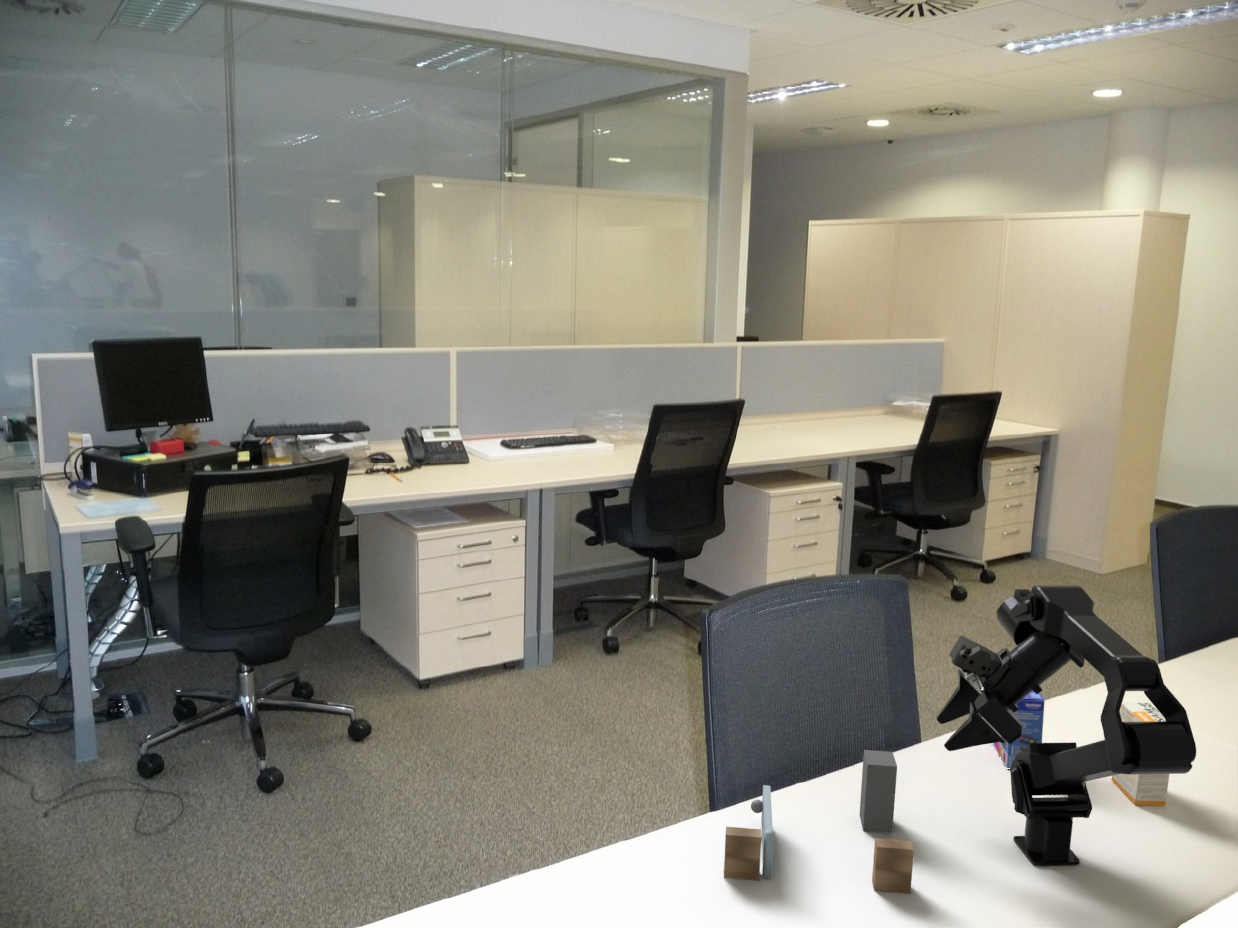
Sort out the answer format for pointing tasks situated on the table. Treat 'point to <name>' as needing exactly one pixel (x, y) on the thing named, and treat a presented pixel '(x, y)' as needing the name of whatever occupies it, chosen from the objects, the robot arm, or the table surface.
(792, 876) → the table surface
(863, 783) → the tall gray pillar
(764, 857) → the door
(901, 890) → the wooden blocks
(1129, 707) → the supplement box
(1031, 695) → the ink cartridge box
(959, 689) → the robot arm
